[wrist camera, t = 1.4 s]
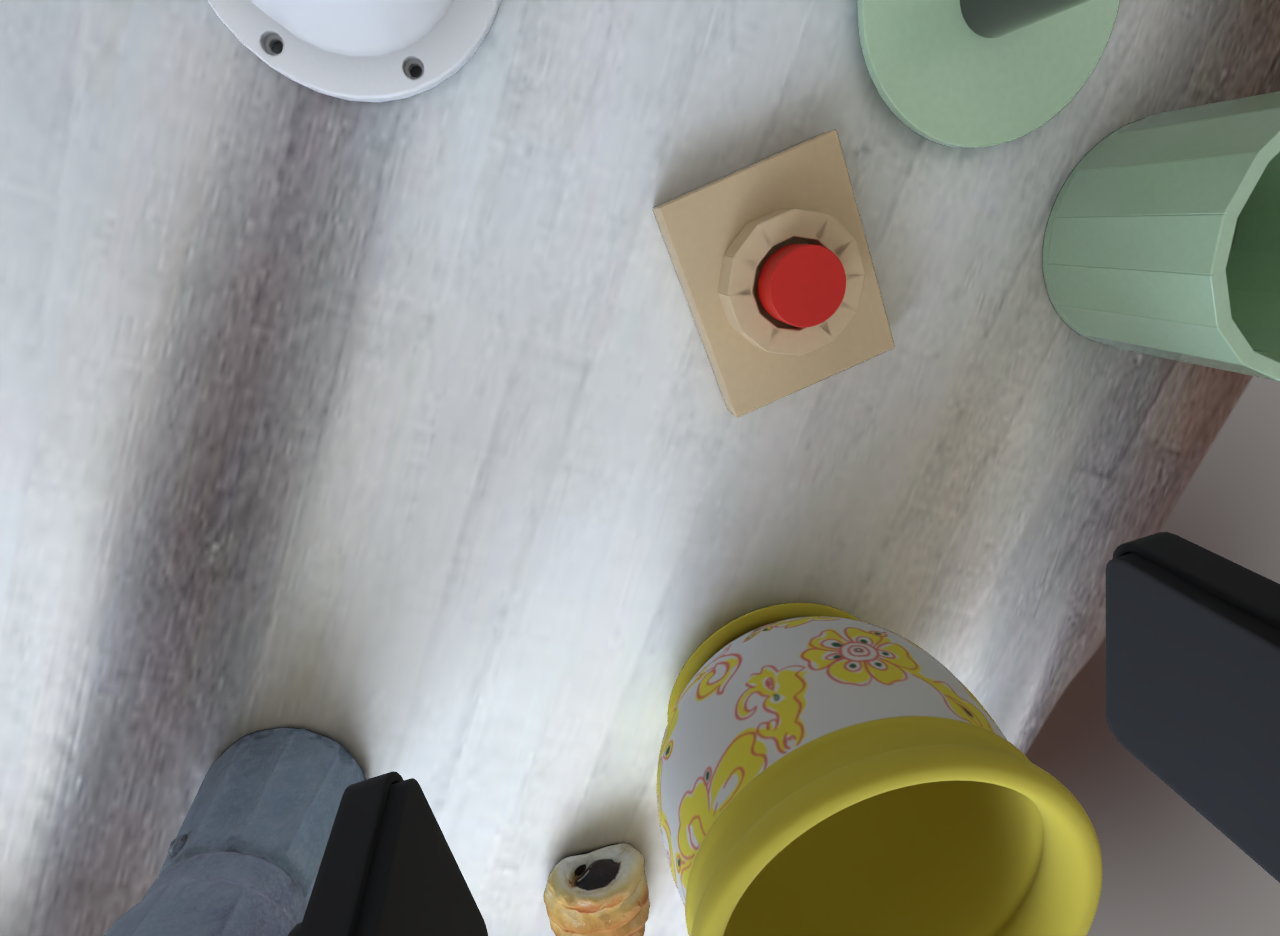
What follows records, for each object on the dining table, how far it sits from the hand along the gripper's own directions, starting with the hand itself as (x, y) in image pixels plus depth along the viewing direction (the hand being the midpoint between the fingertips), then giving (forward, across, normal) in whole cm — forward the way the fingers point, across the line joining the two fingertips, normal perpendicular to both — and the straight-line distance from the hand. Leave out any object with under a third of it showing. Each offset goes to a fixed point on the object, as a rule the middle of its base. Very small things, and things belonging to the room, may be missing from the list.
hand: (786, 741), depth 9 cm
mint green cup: (+28, -31, +2) cm, 42 cm away
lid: (+28, -22, -11) cm, 37 cm away
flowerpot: (+28, -6, +24) cm, 37 cm away
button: (+25, -10, -1) cm, 27 cm away
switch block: (+28, -10, -1) cm, 30 cm away
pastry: (+28, +9, +35) cm, 46 cm away
